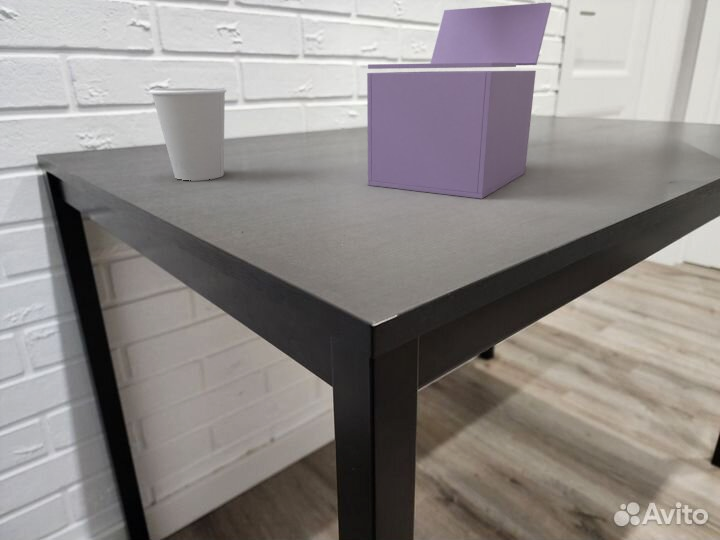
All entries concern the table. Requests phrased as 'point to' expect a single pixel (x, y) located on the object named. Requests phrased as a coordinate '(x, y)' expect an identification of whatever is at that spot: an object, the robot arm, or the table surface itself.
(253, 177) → the table surface
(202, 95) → the dixie cup
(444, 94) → the box
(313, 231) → the table surface
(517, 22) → the box lid
